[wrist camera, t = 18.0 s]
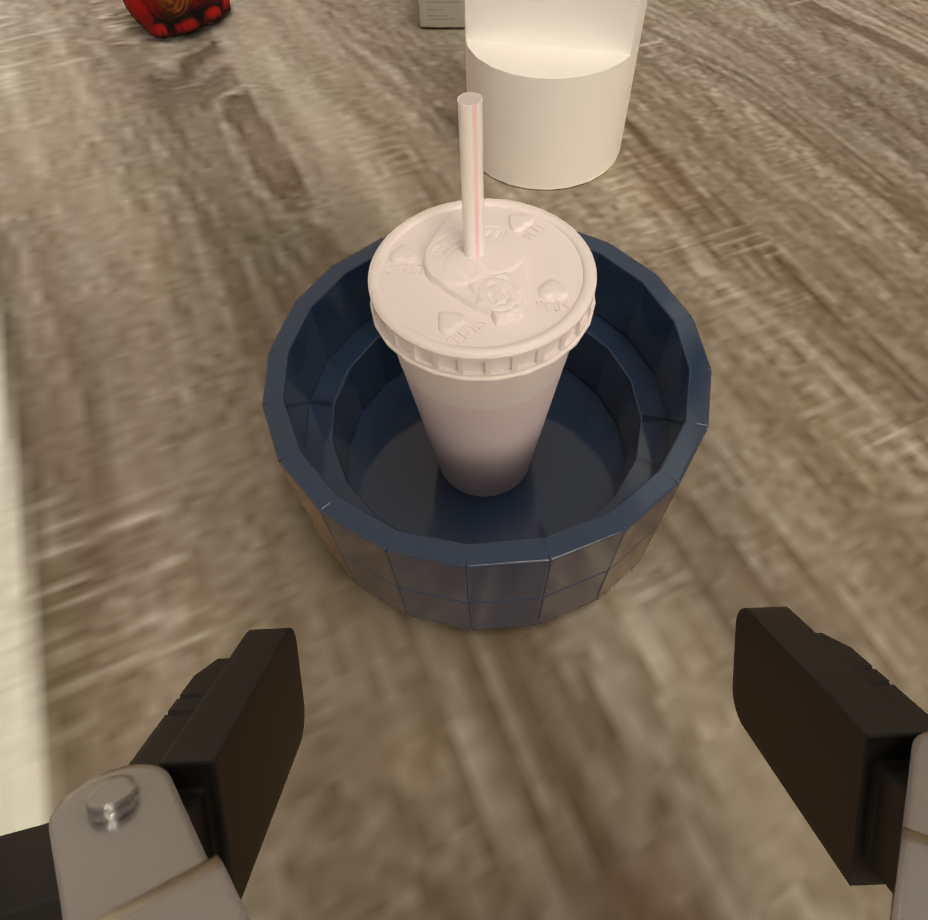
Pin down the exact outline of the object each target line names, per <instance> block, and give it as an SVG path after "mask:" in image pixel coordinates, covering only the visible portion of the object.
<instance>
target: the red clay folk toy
mask: <svg viewBox="0 0 928 920" xmlns="http://www.w3.org/2000/svg"><path fill="white" fill-rule="evenodd" d="M123 2H124V4H125V6H126V8H127V9H128V11H129V12H130V14H131V15H132V16H133V17H134V19H135V20H136V21H137V22H138V23H139V24H140V25H141V26H142V27H144V28H145V29H146V30H147V31H148V32H149V33H150V34H152V35H153V36H155V37H158V38H163V39H164V38H166V37H168V36H170V35H172V36H175V35H177V34H183V33H189V32H192V31H194V30H195V29H197V28H198V27H199V25H202V26H203V25H204V24H208V25H210V24H214V23H217V22H218V21H220V20H221V19H222V18H224V17H225V16H226V15H227V14H228V13H229V12H230V10H231V8H230V1H229V0H123Z"/></svg>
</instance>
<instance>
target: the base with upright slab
mask: <svg viewBox="0 0 928 920" xmlns="http://www.w3.org/2000/svg"><path fill="white" fill-rule="evenodd" d="M646 6H647V0H464V19H465V52H466V85H467V92H475V93H478V94H480V95H481V96H482V98H483V171H484V172H485V173H487V174H488V175H489V176H491V177H492V178H495V179H497V180H499V181H502V182H504V183H506V184H509V185H513V186H518V187H522V188H527V189H541V190H553V189H561V188H570V187H573V186H577V185H580V184H583V183H587V182H589V181H591V180H593V179H595V178H597V177H598V176H600V175H602V174H604V173H605V172H606V171H607V170H608V169H609V168H610V167H611V166H612V165H613V164H614V163H615V160H616V158H617V156H618V154H619V152H620V147H621V141H622V136H623V130H624V125H625V120H626V114H627V109H628V103H629V98H630V92H631V87H632V82H633V76H634V71H635V65H636V60H637V54H638V49H639V44H640V38H641V33H642V27H643V22H644V17H645V11H646Z"/></svg>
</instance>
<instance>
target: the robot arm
mask: <svg viewBox="0 0 928 920" xmlns="http://www.w3.org/2000/svg"><path fill="white" fill-rule="evenodd" d="M733 698H734V704H735V708H736V711H737V715H738V717H739V719H740V722H741V724H742V725H743V727H744V728H745V730H746V731H747V733H748V734H749V736H750V737H751V739H752V740H753V742H754V743H755V745H756V746H757V748H758V749H759V751H760V752H761V754H762V755H763V757H764V758H765V760H766V761H767V763H768V764H769V766H770V767H771V769H772V770H773V772H774V773H775V774H776V776H777V777H778V779H779V780H780V782H781V783H782V785H783V786H784V788H785V789H786V791H787V792H788V794H789V795H790V797H791V798H792V800H793V801H794V803H795V804H796V806H797V807H798V809H799V810H800V812H801V813H802V815H803V816H804V818H805V819H806V821H807V822H808V824H809V825H810V827H811V828H812V830H813V831H814V833H815V834H816V836H817V837H818V839H819V840H820V842H821V843H822V845H823V846H824V848H825V849H826V851H827V852H828V853H829V855H830V856H831V858H832V859H833V861H834V862H835V864H836V865H837V867H838V868H839V870H840V871H841V873H842V874H843V876H844V877H845V879H846V880H847V882H848V883H849V885H850V886H852V885H877V884H886V885H887V887H888V888H889V889H890V891H891V892H892V893H893V898H892V906H891V914H890V920H928V714H926V713H925V712H924V711H923V710H922V709H921V708H920V707H918V706H917V705H916V704H915V703H914V702H913V701H912V700H910V699H909V698H908V697H907V696H906V695H905V694H904V693H902V692H901V691H900V690H899V689H898V688H897V687H896V686H894V685H890V684H889V680H888V679H886V678H885V677H884V676H883V675H882V674H881V673H879V672H878V671H877V670H876V669H872V666H871V665H870V664H869V663H868V662H867V661H866V660H865V659H863V658H862V657H861V656H860V655H859V654H858V653H857V652H855V651H854V650H853V649H852V648H851V647H849V646H847V645H845V644H843V643H841V642H839V641H837V640H835V639H833V638H831V637H829V636H827V635H825V634H823V633H815V632H814V631H813V630H812V629H811V628H810V627H809V626H807V625H806V624H805V623H804V622H803V621H802V620H801V619H800V618H799V617H798V616H797V615H796V614H794V613H793V612H792V611H791V610H790V609H789V608H787V607H763V608H743V609H741V610H740V611H739V613H738V615H737V619H736V632H735V651H734V670H733ZM303 728H304V700H303V691H302V683H301V675H300V666H299V658H298V650H297V642H296V637H295V633H294V631H293V629H292V628H278V629H256V630H249V631H248V632H247V633H246V634H245V636H244V637H243V639H242V640H241V642H240V643H239V645H238V646H237V648H236V649H235V651H234V652H233V654H232V655H231V657H230V658H226V659H217V660H216V661H214V662H213V663H212V664H210V665H209V666H207V667H206V668H205V669H203V670H202V671H200V672H199V673H197V674H196V675H195V676H194V677H193V678H192V680H191V681H190V682H189V684H188V685H187V686H186V688H185V689H184V690H183V692H182V693H181V695H180V699H177V700H176V701H175V703H174V704H173V705H172V707H171V708H170V709H169V711H168V715H165V716H164V718H163V719H162V720H161V722H160V723H159V724H158V726H157V727H156V728H155V730H154V731H153V732H152V734H151V735H150V737H149V738H148V739H147V741H146V742H145V743H144V745H143V746H142V747H141V749H140V750H139V751H138V753H137V754H136V756H135V757H134V758H133V760H132V761H131V762H130V764H129V765H128V766H124V767H120V768H116V769H113V770H110V771H107V772H105V773H102V774H100V775H98V776H96V777H94V778H92V779H90V780H88V781H87V782H85V783H83V784H82V785H80V786H79V787H77V788H76V789H75V790H73V791H72V792H71V793H70V794H68V795H67V796H66V797H65V798H64V799H63V800H62V801H61V802H60V804H59V805H58V806H57V807H56V809H55V810H54V812H53V814H52V816H51V818H50V822H49V823H47V824H43V825H40V826H36V827H33V828H29V829H25V830H21V831H18V832H14V833H10V834H6V835H3V836H0V920H250V918H249V916H248V914H247V912H246V909H245V907H244V905H243V903H242V901H241V899H242V896H243V893H244V891H245V888H246V885H247V883H248V880H249V877H250V875H251V872H252V869H253V867H254V864H255V862H256V859H257V856H258V854H259V851H260V848H261V846H262V843H263V840H264V838H265V835H266V832H267V830H268V827H269V825H270V822H271V819H272V817H273V814H274V811H275V809H276V806H277V803H278V801H279V798H280V795H281V793H282V790H283V787H284V785H285V782H286V780H287V777H288V774H289V772H290V769H291V766H292V764H293V761H294V758H295V756H296V753H297V750H298V748H299V745H300V742H301V739H302V734H303Z"/></svg>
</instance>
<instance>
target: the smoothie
mask: <svg viewBox="0 0 928 920" xmlns="http://www.w3.org/2000/svg"><path fill="white" fill-rule="evenodd" d="M458 123H459V146H460V169H461V193H462V200H459V201H454V202H449V203H444V204H441V205H438V206H435V207H432V208H429V209H427V210H424V211H422V212H420V213H418V214H416V215H414V216H412V217H411V218H409V219H407V220H406V221H404V222H403V223H401V224H400V225H399V226H397V227H396V228H395V229H394V230H393V231H392V232H391V233H390V234H389V235H388V236H387V237H386V238H385V239H384V240H383V241H382V243H381V244H380V245H379V247H378V248H377V250H376V252H375V254H374V256H373V258H372V261H371V263H370V267H369V272H368V289H369V294H370V299H371V301H370V307H371V312H372V316H373V320H374V325H375V327H376V329H377V330H378V332H379V333H380V335H381V337H382V338H383V340H384V341H385V343H386V344H387V346H388V347H389V348H390V349H392V350H393V351H394V352H395V353H397V356H398V358H399V361H400V364H401V367H402V369H403V371H404V373H405V376H406V379H407V381H408V384H409V387H410V389H411V392H412V395H413V397H414V400H415V403H416V405H417V408H418V411H419V413H420V416H421V419H422V421H423V424H424V427H425V429H426V432H427V435H428V437H429V440H430V443H431V445H432V448H433V451H434V453H435V456H436V459H437V461H438V464H439V467H440V469H441V472H442V474H443V476H444V477H445V479H446V480H447V481H448V482H449V483H450V484H451V485H452V486H453V487H455V488H456V489H458V490H459V491H461V492H464V493H466V494H469V495H473V496H480V497H489V496H495V495H499V494H502V493H505V492H507V491H509V490H511V489H512V488H514V487H515V486H516V485H518V484H519V483H520V482H521V480H522V479H523V478H524V476H525V475H526V473H527V471H528V468H529V465H530V462H531V460H532V457H533V454H534V451H535V448H536V445H537V442H538V439H539V436H540V433H541V431H542V428H543V425H544V422H545V419H546V416H547V413H548V410H549V407H550V405H551V402H552V399H553V396H554V393H555V390H556V387H557V384H558V381H559V379H560V376H561V373H562V370H563V367H564V365H565V362H566V360H567V357H568V353H569V351H570V350H571V349H572V348H574V347H575V346H576V345H577V343H578V342H579V340H580V339H581V337H582V336H583V334H584V333H585V332H586V330H587V329H588V327H589V326H590V323H591V319H592V315H593V311H594V307H595V303H596V302H595V290H596V283H597V270H596V265H595V261H594V258H593V255H592V253H591V251H590V249H589V247H588V245H587V244H586V242H585V241H584V240H583V238H582V237H581V236H580V235H579V234H578V233H577V232H576V231H575V230H574V229H573V228H572V227H571V226H570V225H568V224H567V223H566V222H564V221H563V220H561V219H560V218H558V217H557V216H555V215H553V214H551V213H549V212H547V211H545V210H543V209H541V208H537V207H534V206H531V205H528V204H525V203H522V202H516V201H510V200H505V199H490V198H484V192H483V98H482V96H481V95H480V94H478V93H475V92H467V93H463V94H461V95H460V96H459V97H458Z"/></svg>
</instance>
